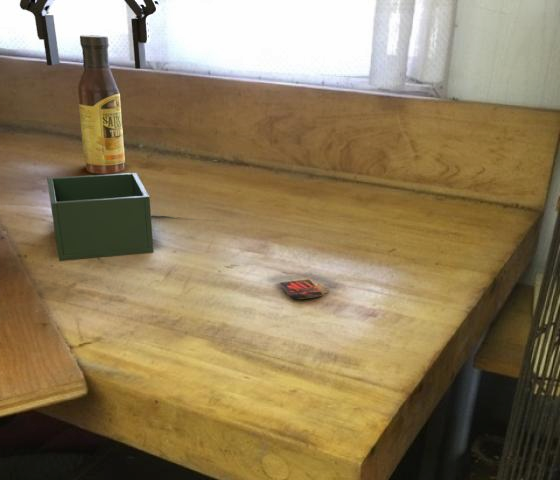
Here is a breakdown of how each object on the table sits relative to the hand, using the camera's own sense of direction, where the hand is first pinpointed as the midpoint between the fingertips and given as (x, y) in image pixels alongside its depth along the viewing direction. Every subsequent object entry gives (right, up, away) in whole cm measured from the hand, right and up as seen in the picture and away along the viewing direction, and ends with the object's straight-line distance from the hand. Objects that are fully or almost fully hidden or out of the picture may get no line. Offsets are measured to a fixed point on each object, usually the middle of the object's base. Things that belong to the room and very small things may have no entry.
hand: (96, 66), depth 104 cm
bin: (+6, -30, -19) cm, 36 cm away
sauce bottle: (-1, -14, +8) cm, 16 cm away
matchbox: (+30, -37, -31) cm, 57 cm away
